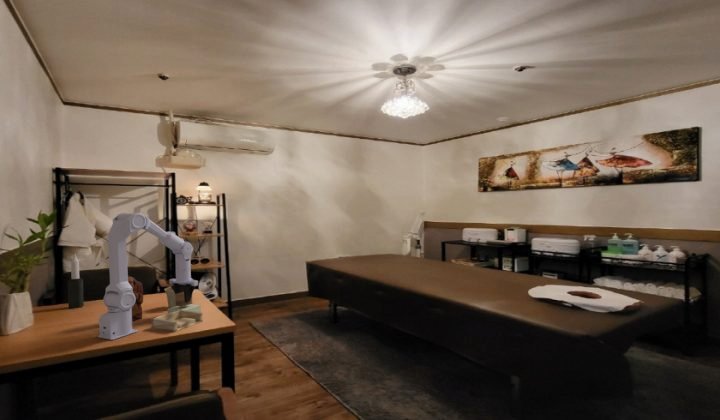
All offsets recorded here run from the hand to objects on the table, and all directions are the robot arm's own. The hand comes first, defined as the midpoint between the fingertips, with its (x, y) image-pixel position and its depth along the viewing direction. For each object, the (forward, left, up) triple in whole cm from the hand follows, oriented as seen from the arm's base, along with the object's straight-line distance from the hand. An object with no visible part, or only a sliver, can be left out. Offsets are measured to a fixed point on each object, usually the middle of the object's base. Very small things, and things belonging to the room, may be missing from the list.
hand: (184, 301), depth 157 cm
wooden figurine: (-14, +15, -6) cm, 22 cm away
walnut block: (0, 0, -1) cm, 1 cm away
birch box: (-11, -10, -5) cm, 16 cm away
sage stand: (0, 0, -5) cm, 5 cm away
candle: (-8, +59, -6) cm, 60 cm away
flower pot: (+8, +13, -6) cm, 16 cm away
